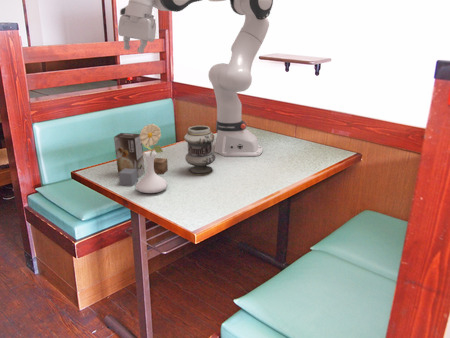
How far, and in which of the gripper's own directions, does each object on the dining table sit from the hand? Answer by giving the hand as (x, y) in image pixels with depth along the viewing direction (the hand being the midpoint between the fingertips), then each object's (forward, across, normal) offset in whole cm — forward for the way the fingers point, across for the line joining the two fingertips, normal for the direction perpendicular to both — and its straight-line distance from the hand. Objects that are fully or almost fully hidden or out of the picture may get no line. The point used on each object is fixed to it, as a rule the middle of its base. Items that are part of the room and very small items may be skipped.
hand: (133, 51), depth 157 cm
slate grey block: (+48, -15, +2) cm, 50 cm away
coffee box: (+47, -7, -4) cm, 48 cm away
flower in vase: (+46, -27, 0) cm, 54 cm away
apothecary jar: (+40, -24, -25) cm, 53 cm away
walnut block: (+44, -13, -13) cm, 48 cm away
